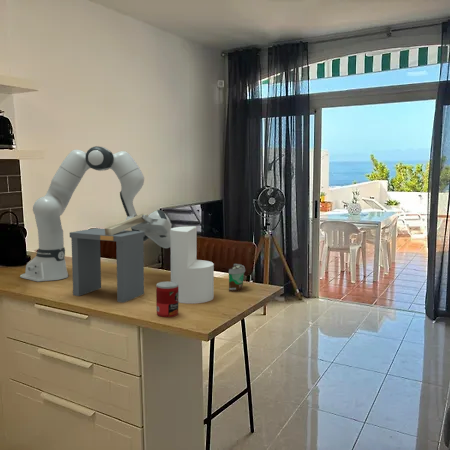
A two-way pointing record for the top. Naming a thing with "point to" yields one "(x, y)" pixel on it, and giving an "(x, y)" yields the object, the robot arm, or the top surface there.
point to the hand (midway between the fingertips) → (138, 216)
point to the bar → (124, 225)
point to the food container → (236, 278)
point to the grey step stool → (91, 262)
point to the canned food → (167, 299)
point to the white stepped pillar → (190, 267)
